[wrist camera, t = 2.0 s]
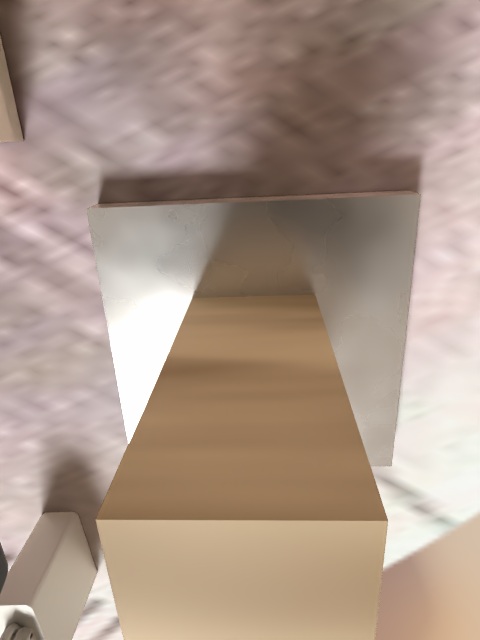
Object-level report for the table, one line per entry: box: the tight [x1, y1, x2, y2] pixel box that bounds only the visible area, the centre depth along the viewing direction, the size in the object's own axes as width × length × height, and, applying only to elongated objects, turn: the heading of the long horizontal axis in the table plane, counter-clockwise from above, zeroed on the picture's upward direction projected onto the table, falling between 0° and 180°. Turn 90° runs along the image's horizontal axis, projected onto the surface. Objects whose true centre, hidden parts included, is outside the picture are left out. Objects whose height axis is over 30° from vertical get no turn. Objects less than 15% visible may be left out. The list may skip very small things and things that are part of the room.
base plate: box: [86, 190, 421, 466], centre depth 15 cm, size 10×10×1 cm
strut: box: [96, 295, 388, 640], centre depth 11 cm, size 4×4×9 cm
